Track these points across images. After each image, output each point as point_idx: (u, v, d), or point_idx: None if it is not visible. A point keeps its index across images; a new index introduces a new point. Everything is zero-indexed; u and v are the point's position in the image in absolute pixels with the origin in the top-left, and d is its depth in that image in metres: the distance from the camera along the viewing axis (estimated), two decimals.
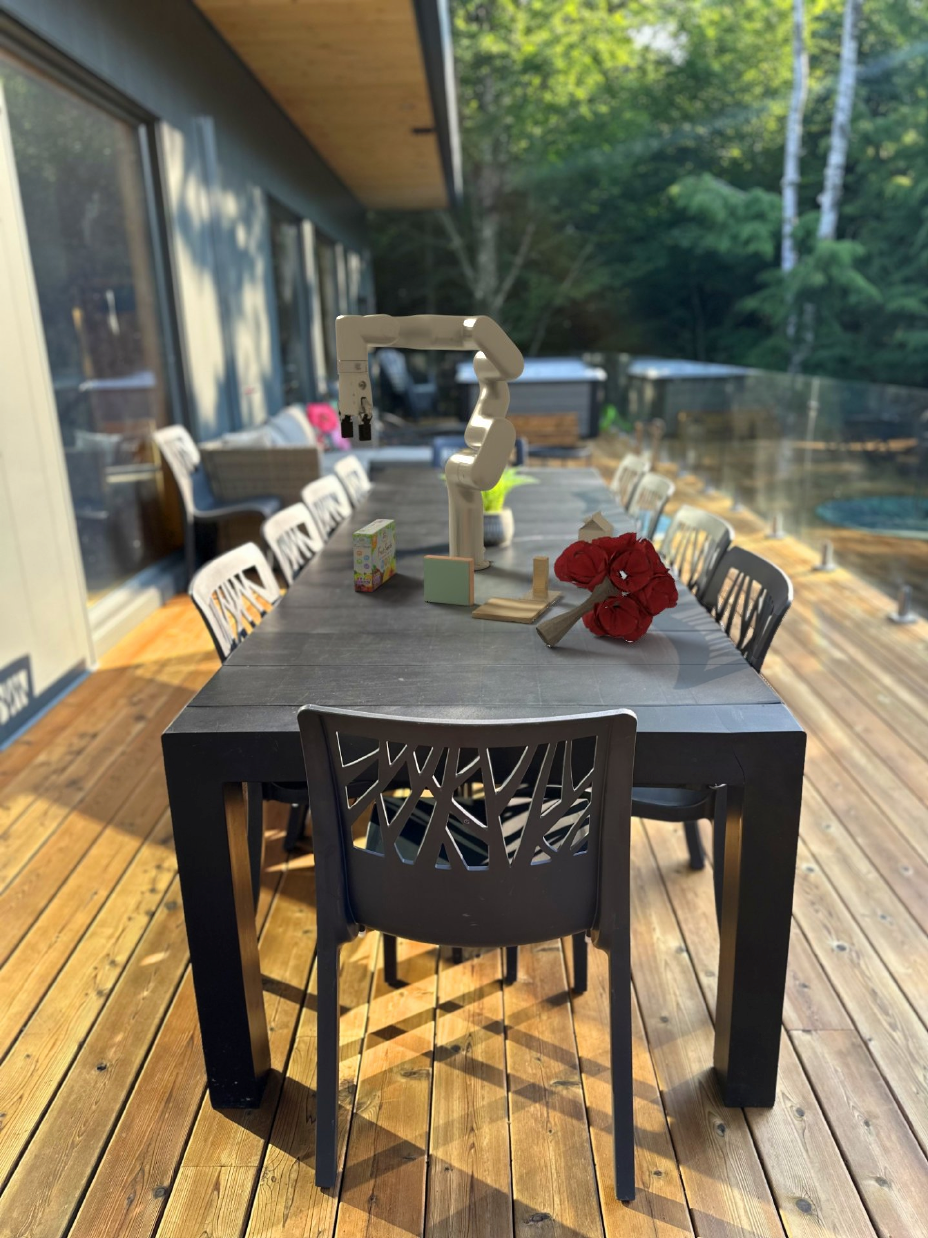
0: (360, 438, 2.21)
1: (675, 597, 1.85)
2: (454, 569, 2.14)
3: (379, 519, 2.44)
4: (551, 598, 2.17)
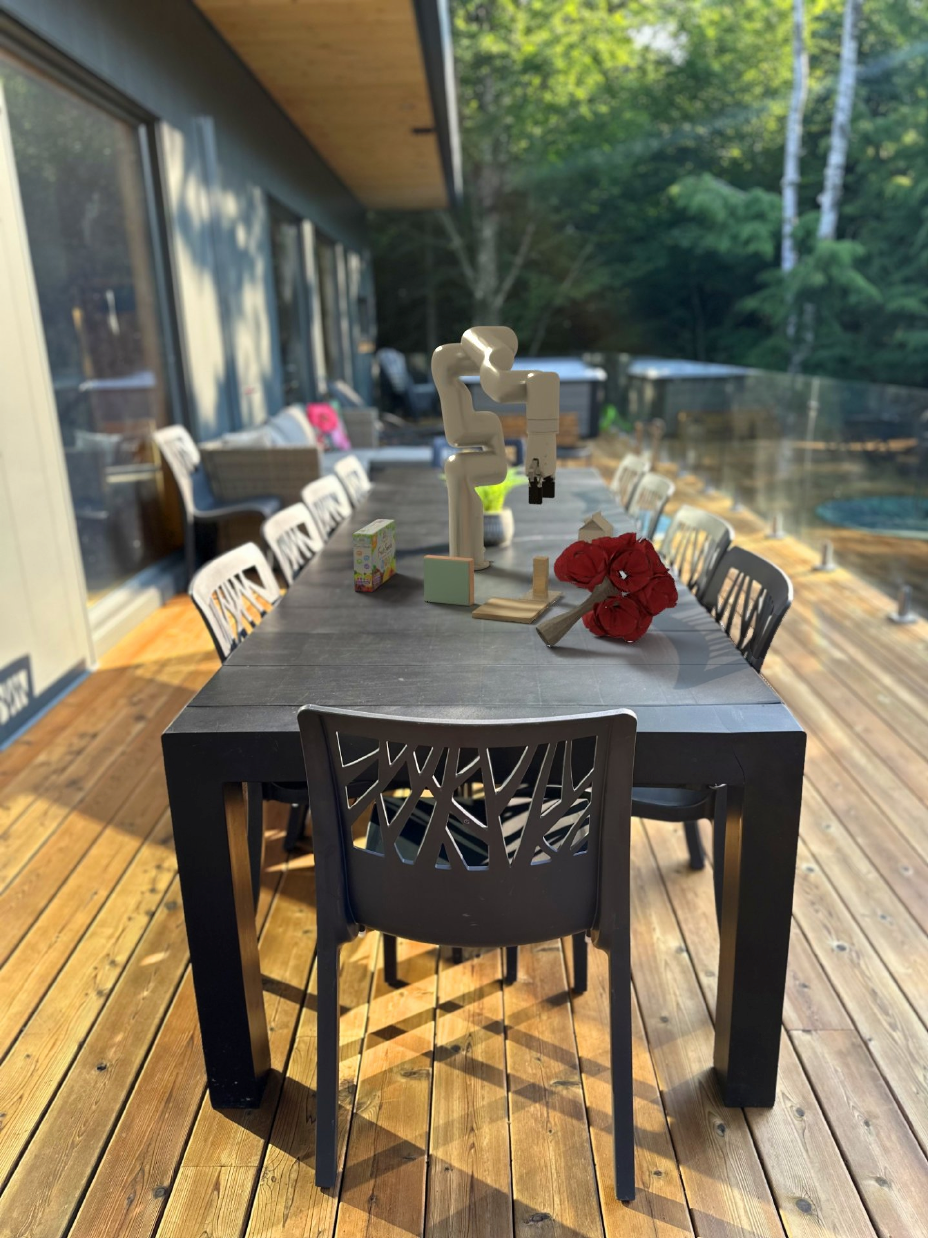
0: None
1: (675, 597, 1.85)
2: (454, 569, 2.14)
3: (379, 519, 2.44)
4: (551, 598, 2.17)
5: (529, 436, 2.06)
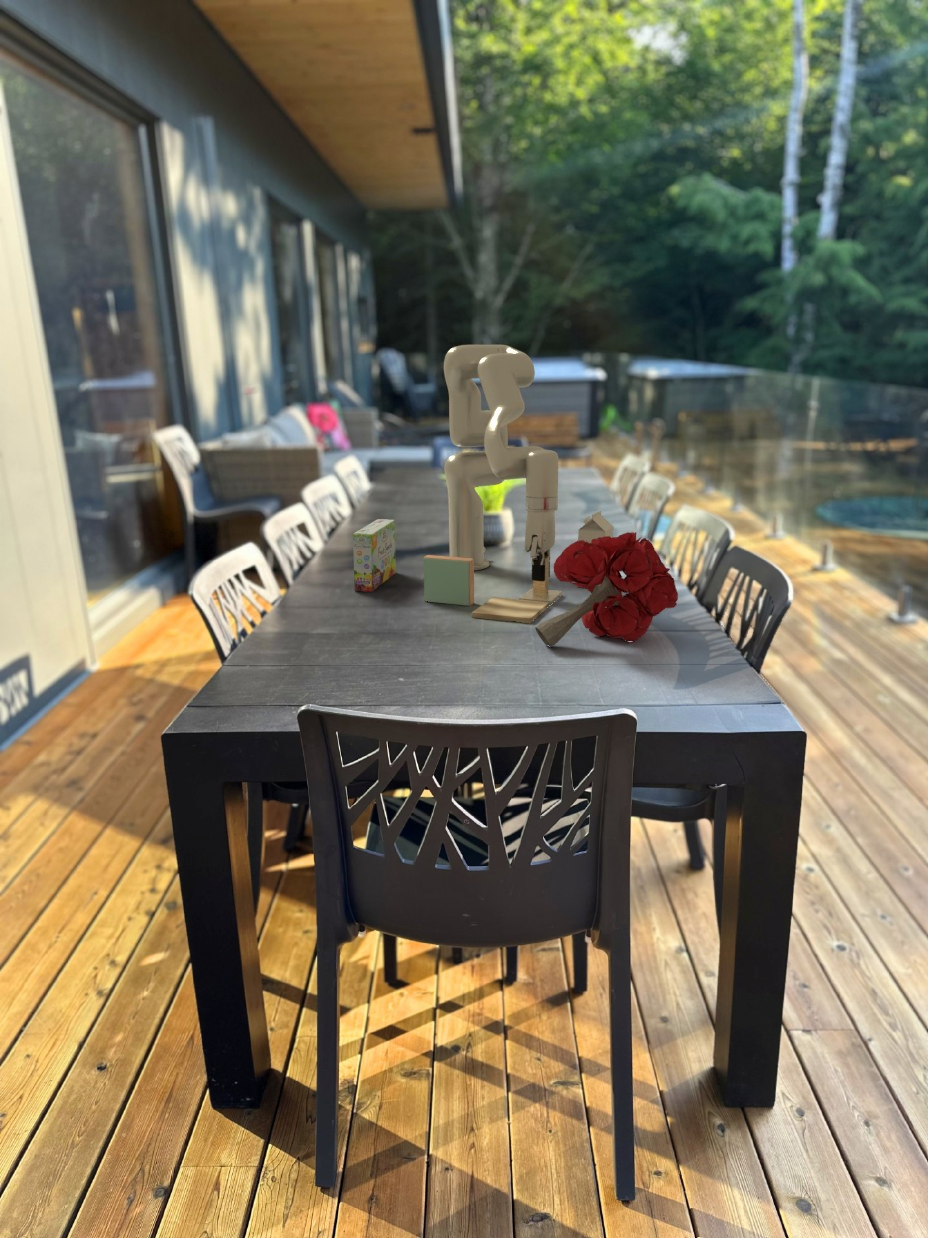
0: None
1: (675, 597, 1.85)
2: (454, 569, 2.14)
3: (379, 519, 2.44)
4: (551, 597, 2.17)
5: (528, 513, 2.11)
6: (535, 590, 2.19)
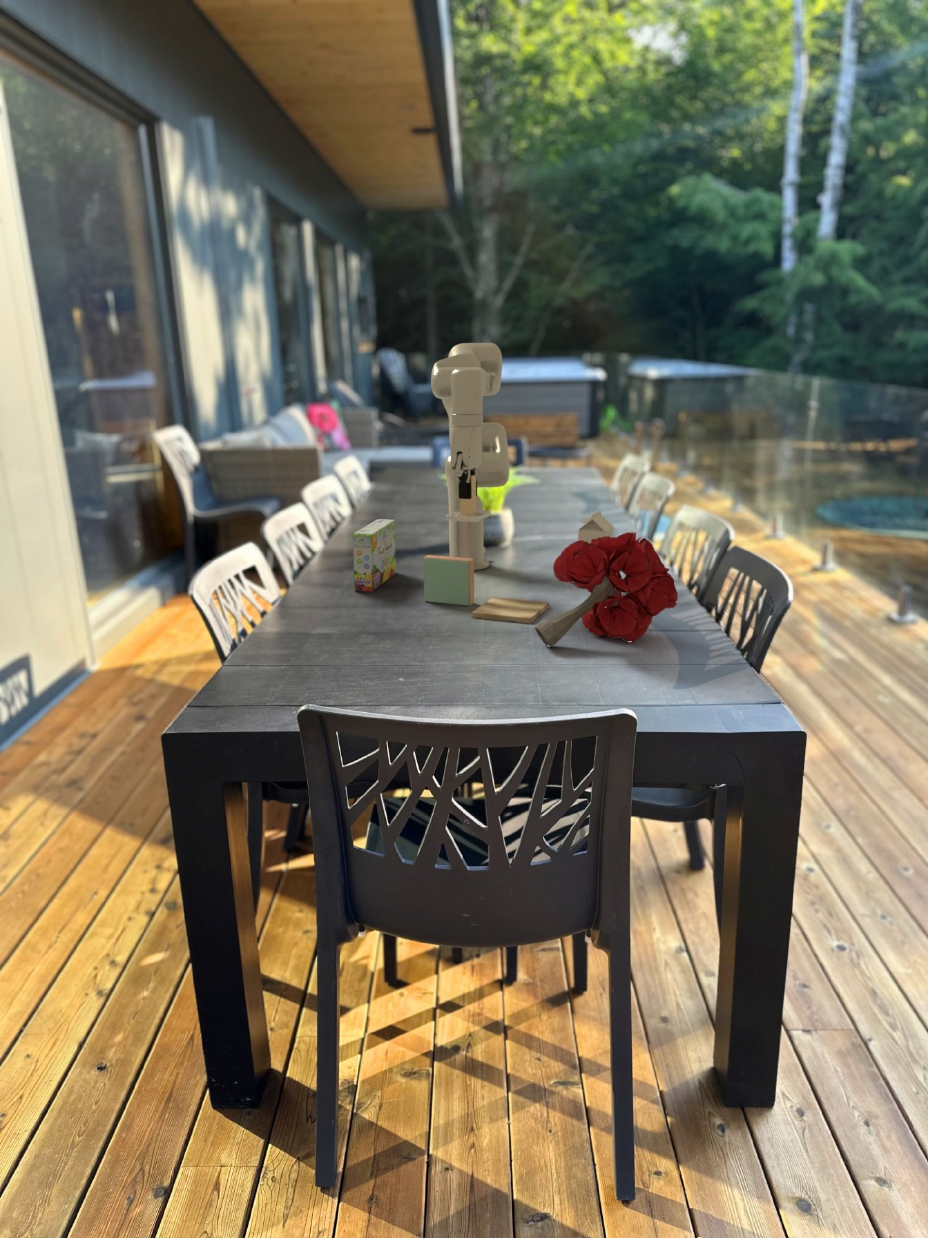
0: None
1: (675, 597, 1.85)
2: (454, 569, 2.14)
3: (379, 519, 2.44)
4: (478, 515, 2.21)
5: (453, 430, 2.15)
6: (462, 508, 2.23)
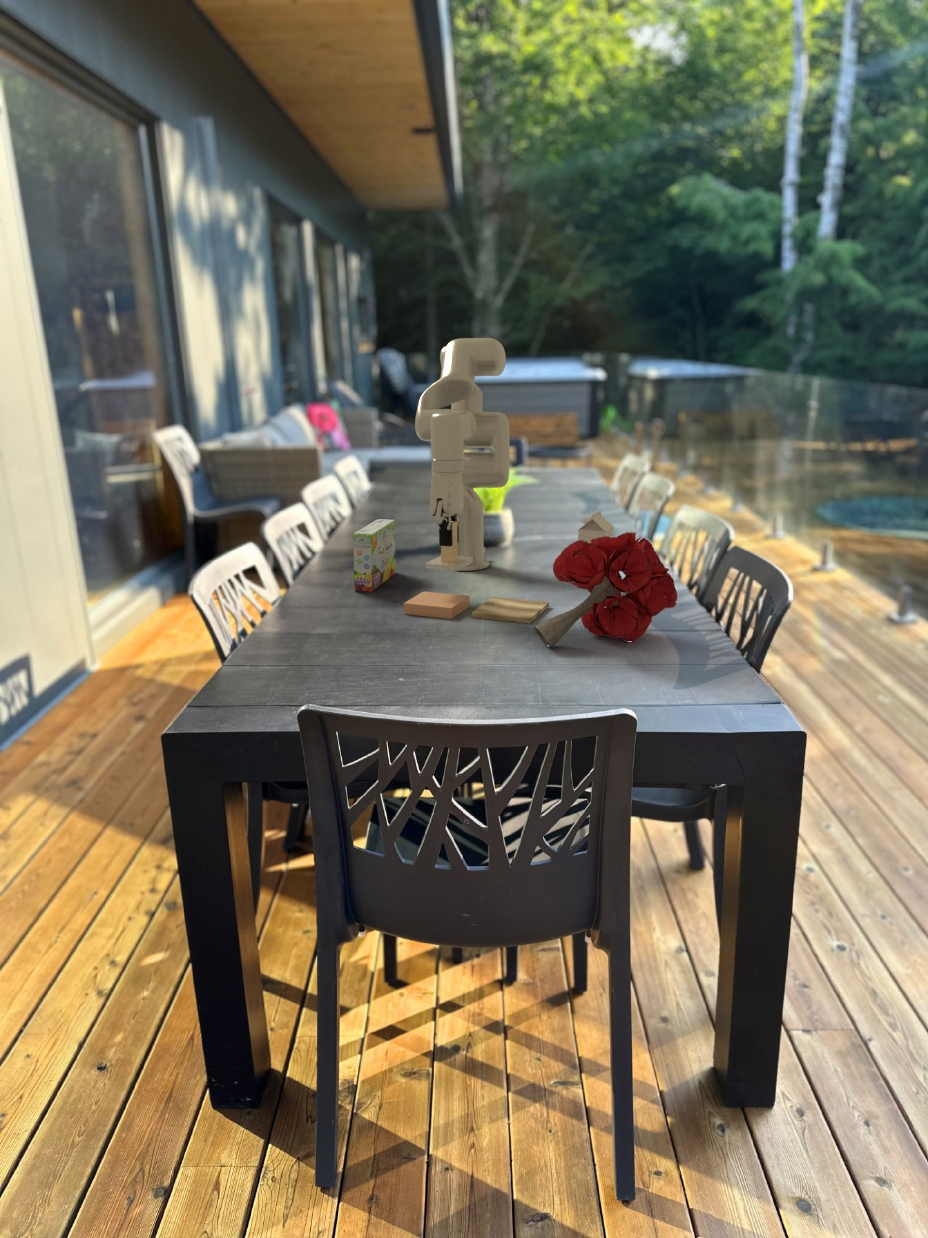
0: None
1: (674, 597, 1.85)
2: None
3: (379, 519, 2.44)
4: (459, 562, 2.13)
5: (433, 476, 2.07)
6: (443, 555, 2.15)
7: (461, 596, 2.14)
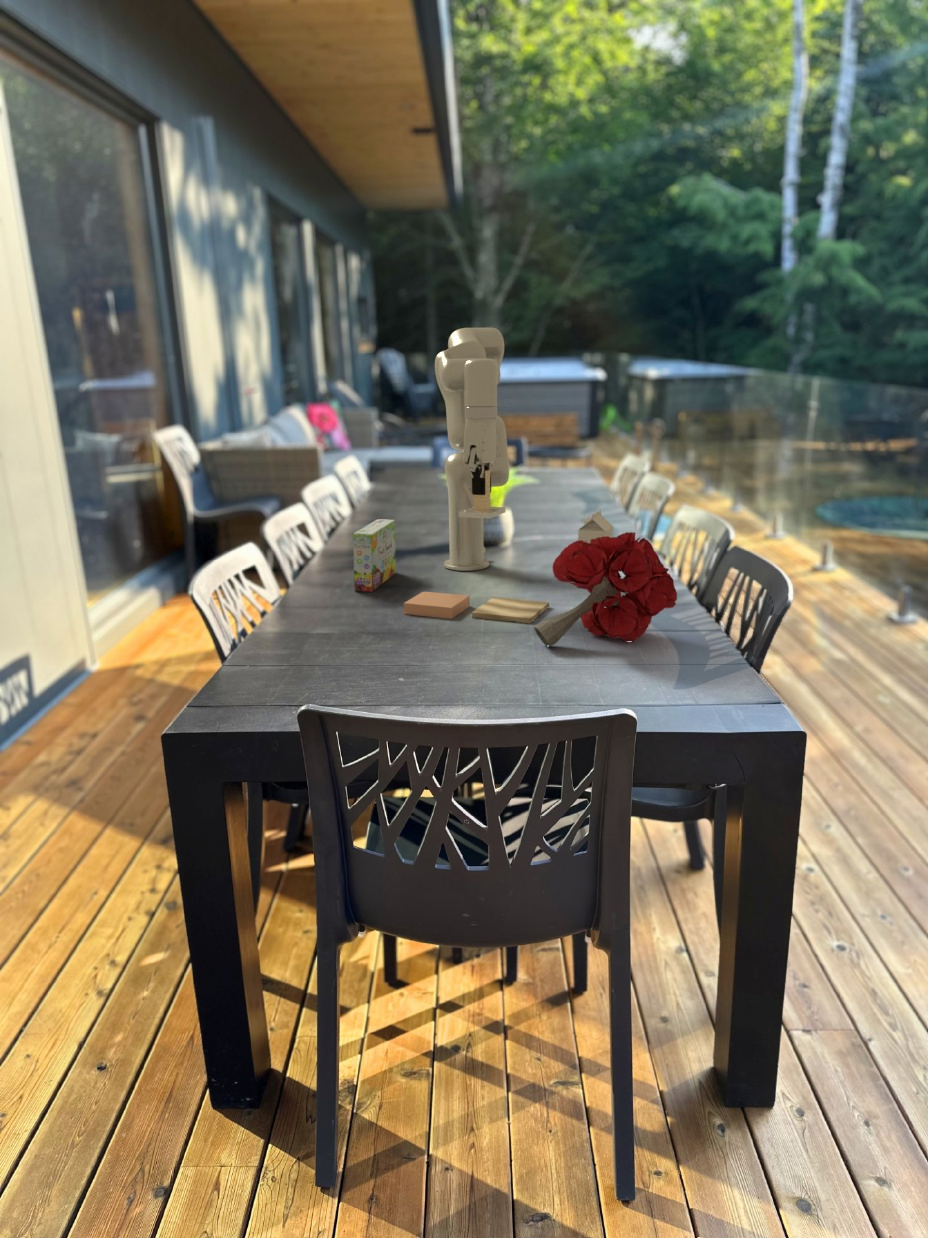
0: None
1: (674, 597, 1.85)
2: None
3: (379, 519, 2.44)
4: (492, 511, 2.12)
5: (466, 423, 2.07)
6: (476, 504, 2.14)
7: (461, 596, 2.14)
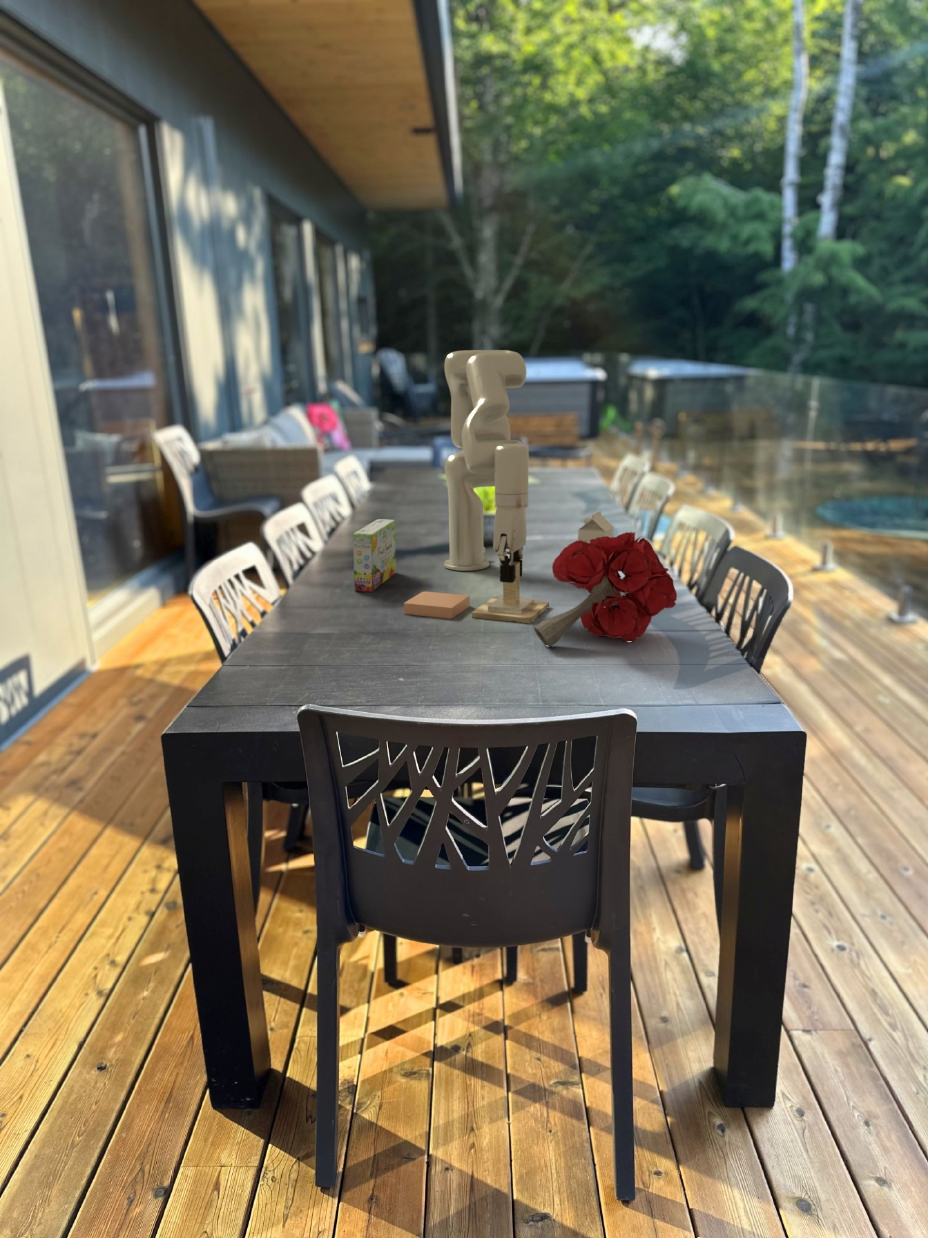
0: None
1: (674, 597, 1.85)
2: None
3: (379, 519, 2.44)
4: (522, 605, 2.06)
5: (497, 511, 2.00)
6: (505, 597, 2.08)
7: (461, 596, 2.14)
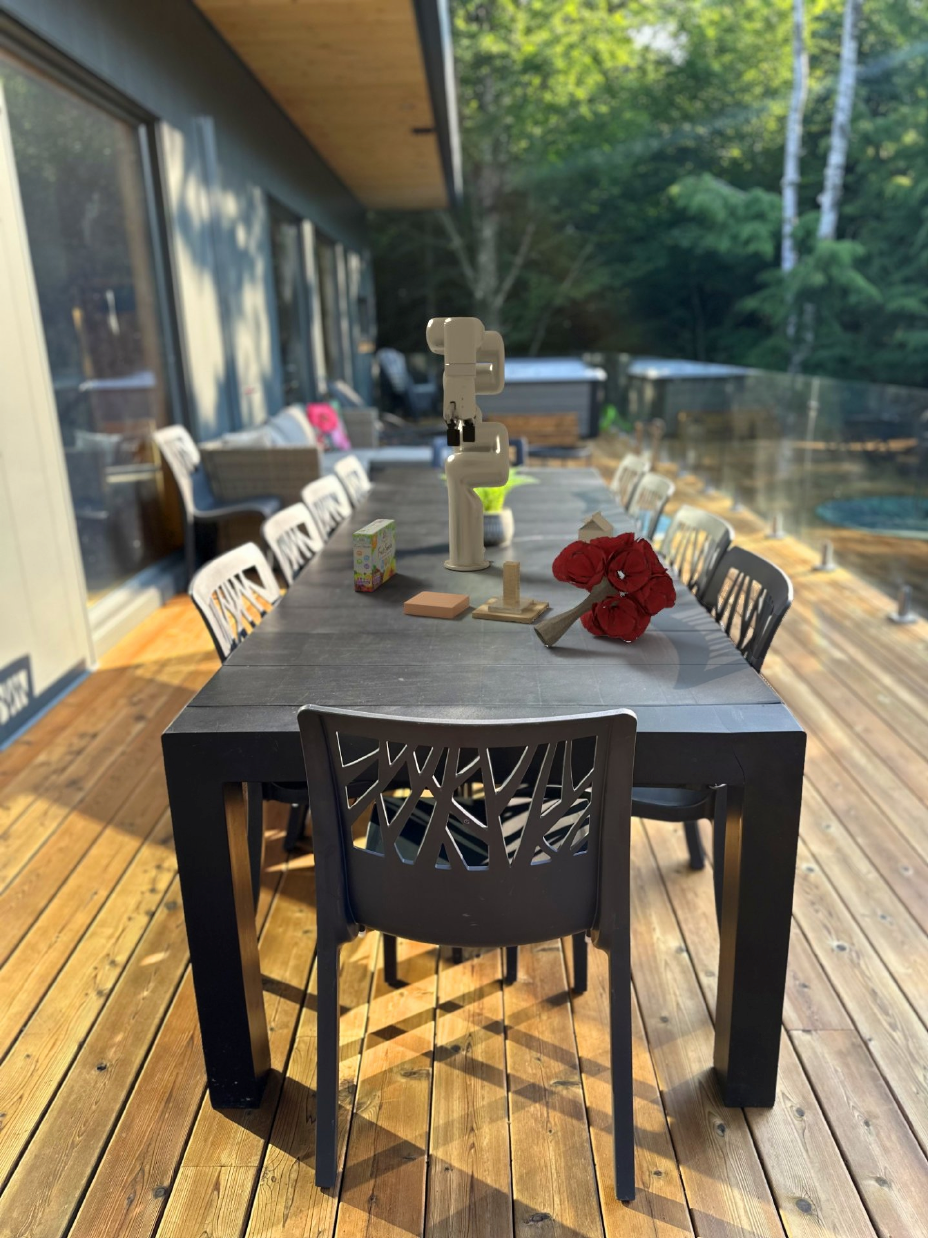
0: None
1: (673, 597, 1.85)
2: None
3: (379, 519, 2.44)
4: (522, 605, 2.06)
5: (446, 380, 2.14)
6: (505, 597, 2.08)
7: (461, 596, 2.14)
